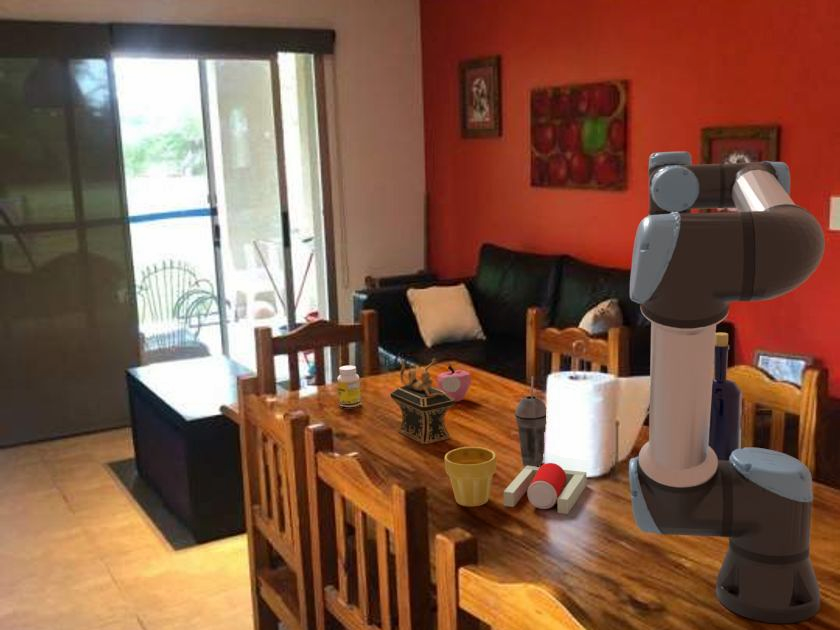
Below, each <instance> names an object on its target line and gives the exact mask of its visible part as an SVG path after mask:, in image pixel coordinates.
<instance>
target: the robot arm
mask: <svg viewBox="0 0 840 630" xmlns="http://www.w3.org/2000/svg"><path fill="white" fill-rule="evenodd" d="M648 159H649V161H648V169H647V173H648V215H647V216H645V217H644V218H643V219H642V220H641V221H640V223H639V224H638V226H637V228H636V229H637V230H636V232H635V238H634V243H633V251H632V260H631V270H630V276H629V278H630V280H629V298H630V300H631V301H632V302H634V303H636V304H639V307H640V311H641V314H642V315H643V317H644V318H645V319H647V321H649V322H650V324H651V325H650V367H649V368H650V370H649V372H650V375H649V376H650V378H649V422H648V423H649V426H648V428H649V430H648V432H649V433H648V441H647V442H646V443H645V444H644V445H643V446H642V447H641V449H640V451H639V453H638V456H635V457H632V458H630V460H629V463H628V476H629V488H630V495H631V497H630V498H631V505H632V513H633V517H634V521H635V524H636V526H637V528H638V529H639V530H640V531H642V532H644V533H649V534H657V535H660V536H667V535H669V536H670V535H671V536H673V535H674V536H694V537H696V536H697V537H720V538H728V548H727V551H726V554H725V556H724V558H723V561H722V563H721V567H720V569H719V571H718V574H717V576H716V583H715V587H716V589H715V595H716V597H717V599H718V601H719V602H720V603H721V604H722V605H723V606H724V607H725V608H726V609H728V610H730V611H731V612H733V613H735V614H737V615H739V616H741V617H744V618H747V619H750V620H754V621H757V622H764V623H771V624H794V623H799V622H804V621H807V620H809V619H811V618H813V617H814V616H816V615H817V613H819V611H820V607H821V590H820V586H819V584H818V579H817V577H816V574H815V570H814V567H813V565H812V562H811V561H812V560H811V557H810V549H811V547H810V546H811V529H812V528H811V526H812V525H811V524H812V522H811V521H812V502H813V499H814V494H813V482H812V481H813V479H812V474H811V471H810V469H809V468H808V467H807V465H806V464H804V463H803V462H802V461H801V460H799V459H797V458H795V457H793V456H791V455H789V454H787V453H784V452H780V451H778V450H773V449H768V448H767V449H766V448H762V447H761V448H760V447H754V446H753V447H743V448H741V449H740V448H739V449H736V450H734V451H733V452H732V454H731V456H730V459H729V460H728V461H727V460H718V459H717V456H716V454H715V452H714V451H713V449H712V448H711V447H710V446H708V443H709V428H710V412H711V396H712V381H713V378H714V349H715V334H716V333H717V332H716V330H717V325H719V324H720V323H721V322H723V321H724V320H725V319H726V318H727V317H728V315H729V311H730V305H731V304H730V303H731V302H732V303H734V302H761V301H768V300H773V299H776V298H778V297H781V296H783V295H786V294H788V293H790V292H792V291H794V290H796V289H797V288H799V286H801V285H802V284H804V283H805V282H806V281H807V280H808V279H809V278H810V277H811V276H812V275H813V274H814V273H815V271H817V268H818V267H819V265H820V263H821V261H822V260H823V259H822V258H823V256H824V253H825V247H826V242H825V234H824V230H823V228H822V226H821V224H820V223H819V221H818V220H817V218H816V217H815V216H814V215H813V214H812V212H810V211H809V210H807V209H806V208H805V207H802V206H800V205H797V204H795V202H794V201H793V199H792V198H791V197H790V193H791V173H790V169H789V168H790V167H789V166H788V164H787V163H785V162H783V161H770V160H769V161H768V160H762V161H757V162H754V161H753V162H737V163H734V162H732V163H709V164H708V163H705V164H701V163H699V164H698V163H697V164H693V162H692V155H691V153H690V152H689V151H664V152H663V151H662V152H661V151H660V152H659V151H658V152H653V153H652V154H650V156H649V157H648ZM707 209H709V210H710V209H711V210H713V209H716V210H717V209H736V210H737V211H731V212H729V211H727V212H723V211H721V212H692V210H707Z"/></svg>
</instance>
